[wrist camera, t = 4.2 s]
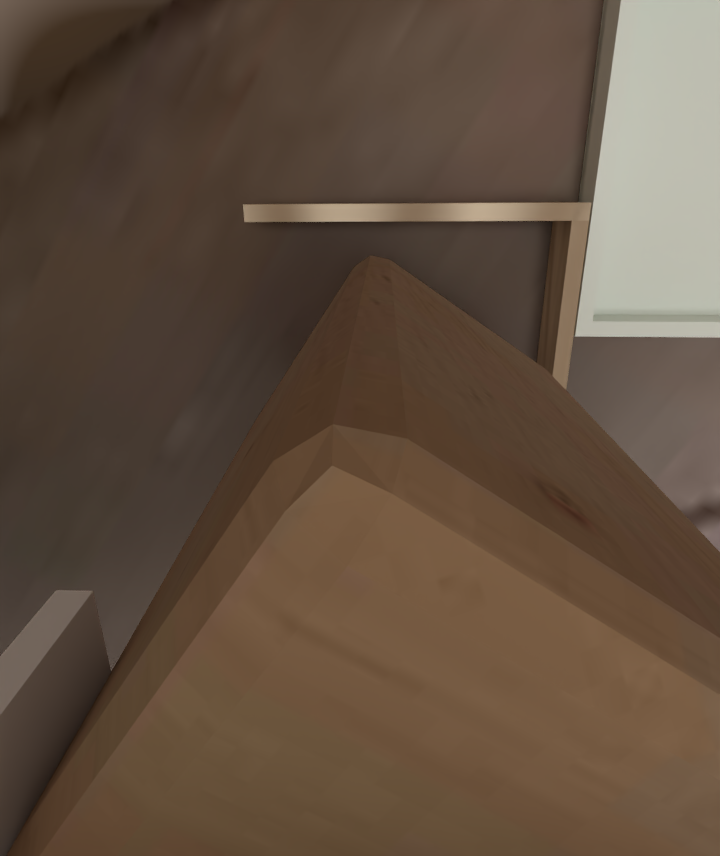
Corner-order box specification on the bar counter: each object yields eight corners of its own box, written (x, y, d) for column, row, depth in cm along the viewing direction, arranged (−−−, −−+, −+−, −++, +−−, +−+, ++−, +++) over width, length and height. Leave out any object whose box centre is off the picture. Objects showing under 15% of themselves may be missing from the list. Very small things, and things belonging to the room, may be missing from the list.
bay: (277, 477, 37) (266, 504, 34) (258, 203, 31) (242, 204, 28) (535, 482, 36) (549, 510, 33) (570, 202, 30) (591, 202, 27)
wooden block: (368, 242, 23) (312, 423, 5) (557, 375, 25) (1062, 889, 6) (248, 430, 26) (-64, 972, 8) (423, 535, 28) (499, 1178, 10)
